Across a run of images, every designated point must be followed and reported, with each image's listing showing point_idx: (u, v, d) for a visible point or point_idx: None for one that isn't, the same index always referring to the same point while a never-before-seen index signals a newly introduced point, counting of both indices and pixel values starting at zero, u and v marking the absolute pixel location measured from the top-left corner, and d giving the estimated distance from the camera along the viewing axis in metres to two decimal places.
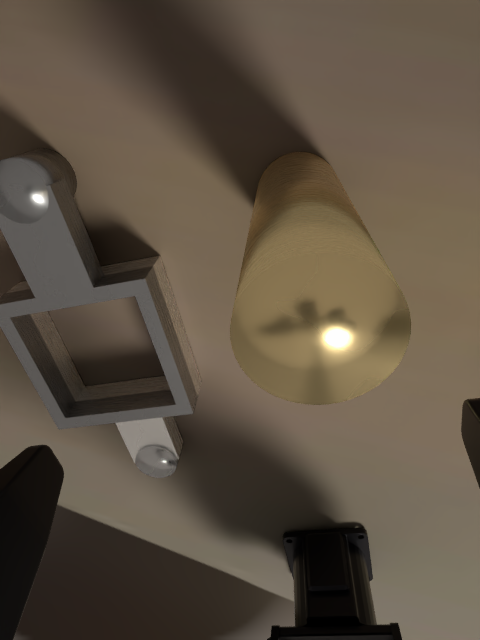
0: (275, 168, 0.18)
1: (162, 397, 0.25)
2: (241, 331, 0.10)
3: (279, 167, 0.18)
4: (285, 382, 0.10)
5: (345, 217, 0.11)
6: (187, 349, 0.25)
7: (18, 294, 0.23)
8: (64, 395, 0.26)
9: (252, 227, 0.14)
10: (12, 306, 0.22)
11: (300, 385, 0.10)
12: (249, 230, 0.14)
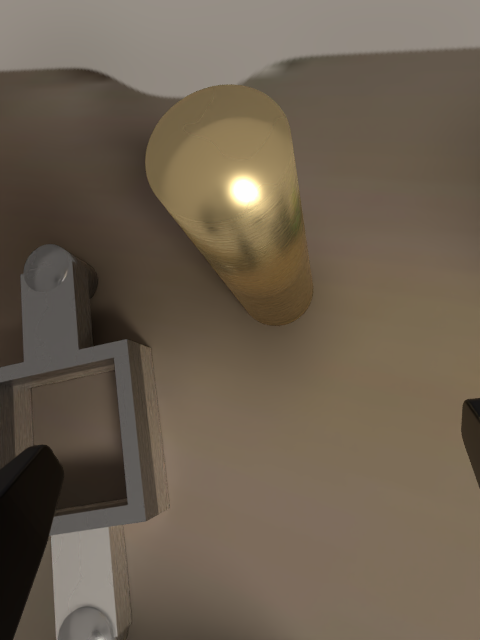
0: None
1: (115, 504, 0.21)
2: (154, 153, 0.12)
3: None
4: (187, 198, 0.11)
5: None
6: (158, 452, 0.22)
7: None
8: None
9: None
10: (0, 371, 0.23)
11: (201, 199, 0.11)
12: None
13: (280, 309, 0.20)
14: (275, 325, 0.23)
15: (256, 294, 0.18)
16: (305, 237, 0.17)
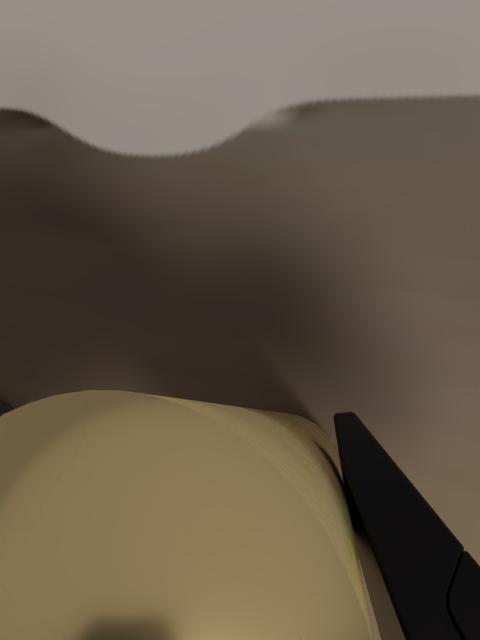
0: None
1: None
2: None
3: None
4: None
5: (267, 418, 0.06)
6: None
7: None
8: None
9: None
10: None
11: None
12: None
13: None
14: None
15: None
16: None
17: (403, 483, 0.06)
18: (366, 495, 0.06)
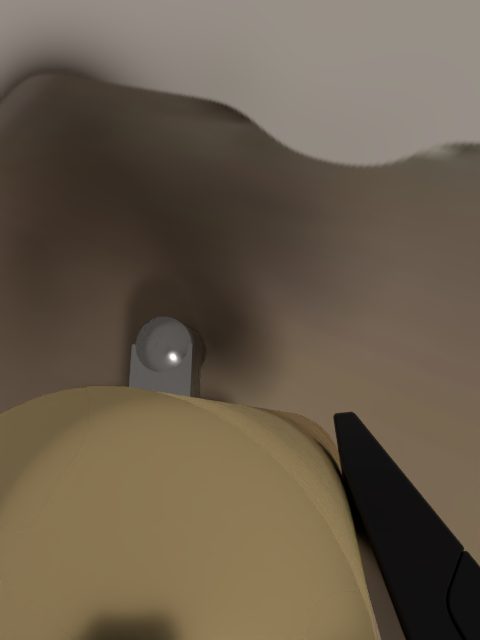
0: None
1: None
2: None
3: None
4: None
5: (268, 415, 0.06)
6: None
7: None
8: None
9: None
10: None
11: None
12: None
13: None
14: None
15: None
16: None
17: (403, 483, 0.06)
18: (366, 495, 0.06)
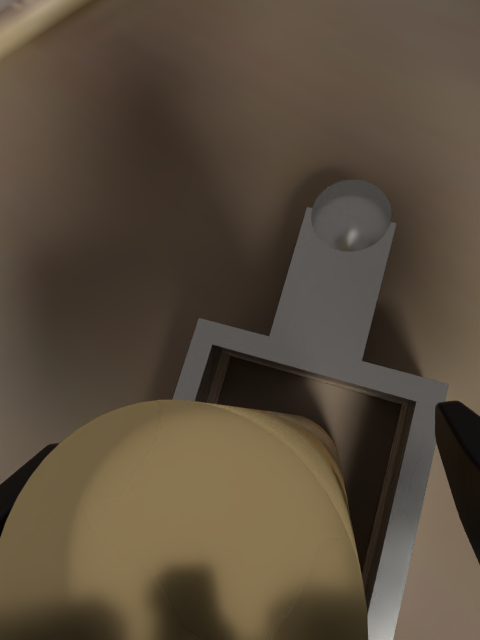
0: None
1: None
2: (11, 574, 0.05)
3: None
4: None
5: (279, 418, 0.07)
6: None
7: None
8: None
9: None
10: (229, 332, 0.15)
11: None
12: None
13: None
14: None
15: None
16: None
17: None
18: None
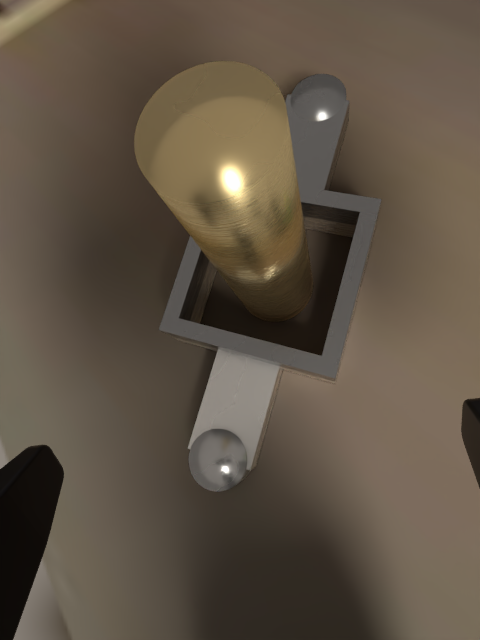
0: None
1: None
2: (143, 133, 0.11)
3: None
4: (178, 179, 0.11)
5: None
6: (349, 327, 0.21)
7: None
8: (190, 303, 0.22)
9: None
10: None
11: (192, 180, 0.10)
12: None
13: (279, 304, 0.20)
14: (274, 321, 0.23)
15: (253, 287, 0.17)
16: (304, 227, 0.16)
17: None
18: None
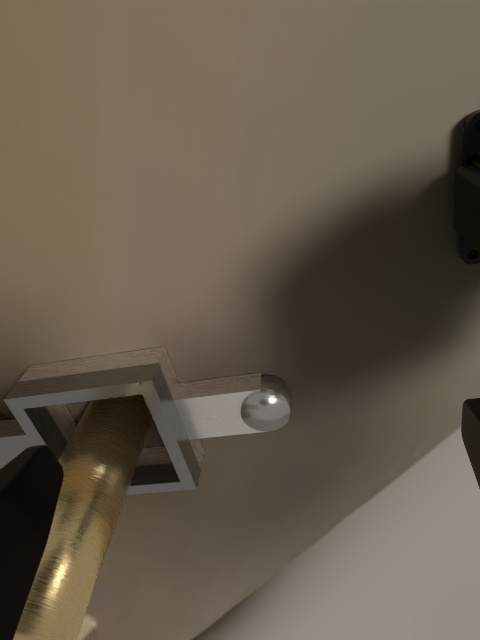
0: None
1: None
2: None
3: None
4: None
5: None
6: (115, 359, 0.24)
7: None
8: (167, 471, 0.27)
9: None
10: None
11: None
12: None
13: (126, 432, 0.24)
14: None
15: (117, 483, 0.21)
16: None
17: None
18: None
